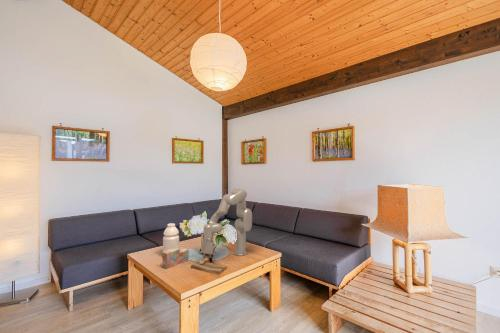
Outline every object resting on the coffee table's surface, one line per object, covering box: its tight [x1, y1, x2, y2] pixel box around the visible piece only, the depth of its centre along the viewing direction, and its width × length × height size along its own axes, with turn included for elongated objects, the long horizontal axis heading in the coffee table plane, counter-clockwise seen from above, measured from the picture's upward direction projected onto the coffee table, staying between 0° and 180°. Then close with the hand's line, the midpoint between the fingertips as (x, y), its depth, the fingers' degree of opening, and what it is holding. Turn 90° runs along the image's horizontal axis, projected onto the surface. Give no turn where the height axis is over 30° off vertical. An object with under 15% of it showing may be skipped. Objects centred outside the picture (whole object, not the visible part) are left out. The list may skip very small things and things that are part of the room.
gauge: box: [199, 254, 210, 264], centre depth 190 cm, size 12×5×6 cm, turn 156°
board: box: [190, 260, 227, 275], centre depth 184 cm, size 11×26×2 cm, turn 66°
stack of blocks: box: [161, 248, 190, 270], centre depth 192 cm, size 21×6×12 cm, turn 144°
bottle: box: [162, 222, 180, 252], centre depth 210 cm, size 14×14×28 cm
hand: (208, 261), depth 194 cm, fingers closed on gauge, 5 cm apart
